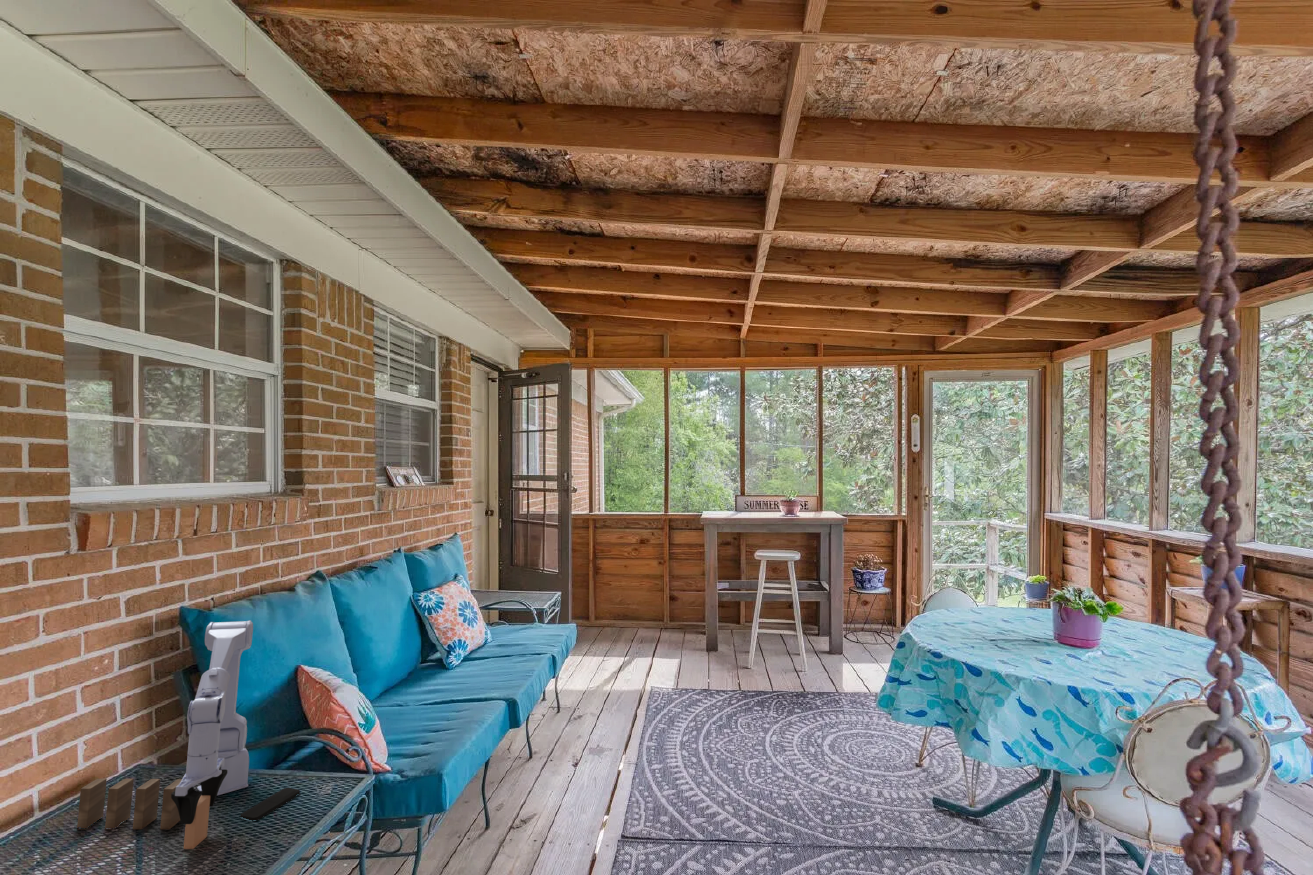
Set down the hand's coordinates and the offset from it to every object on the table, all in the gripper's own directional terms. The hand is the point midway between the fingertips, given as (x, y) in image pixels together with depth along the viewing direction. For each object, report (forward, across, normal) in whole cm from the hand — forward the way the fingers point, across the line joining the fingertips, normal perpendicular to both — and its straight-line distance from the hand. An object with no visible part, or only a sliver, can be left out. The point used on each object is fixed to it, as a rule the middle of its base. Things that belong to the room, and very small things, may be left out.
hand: (197, 814), depth 145 cm
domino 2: (+6, +8, +22) cm, 24 cm away
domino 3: (+6, +8, +16) cm, 19 cm away
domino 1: (+6, +8, +28) cm, 30 cm away
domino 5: (+6, 0, 0) cm, 6 cm away
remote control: (+7, +17, -8) cm, 20 cm away
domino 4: (+6, +8, +10) cm, 14 cm away
